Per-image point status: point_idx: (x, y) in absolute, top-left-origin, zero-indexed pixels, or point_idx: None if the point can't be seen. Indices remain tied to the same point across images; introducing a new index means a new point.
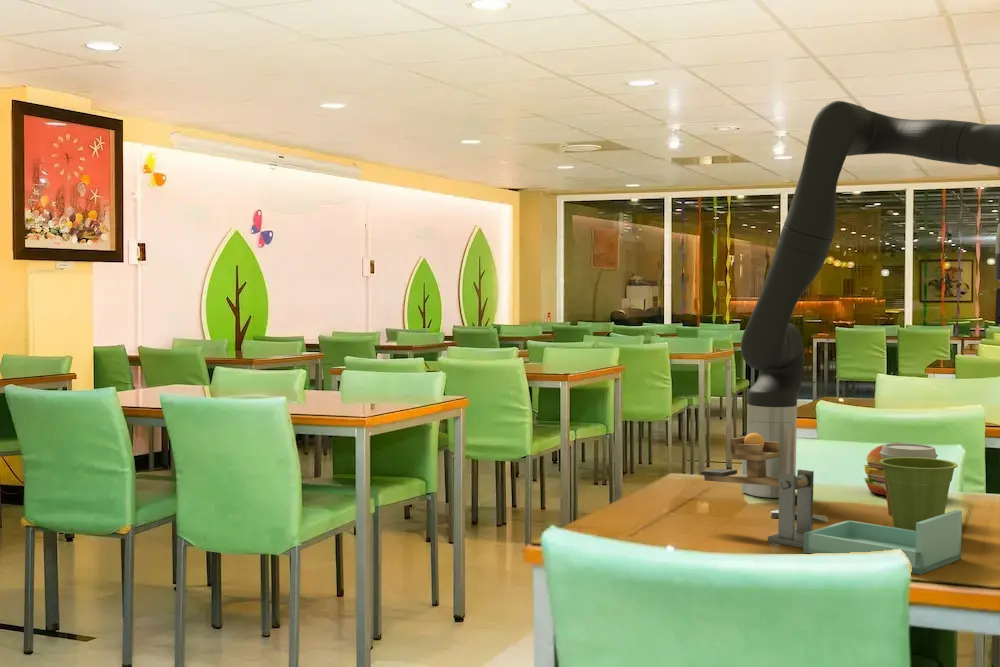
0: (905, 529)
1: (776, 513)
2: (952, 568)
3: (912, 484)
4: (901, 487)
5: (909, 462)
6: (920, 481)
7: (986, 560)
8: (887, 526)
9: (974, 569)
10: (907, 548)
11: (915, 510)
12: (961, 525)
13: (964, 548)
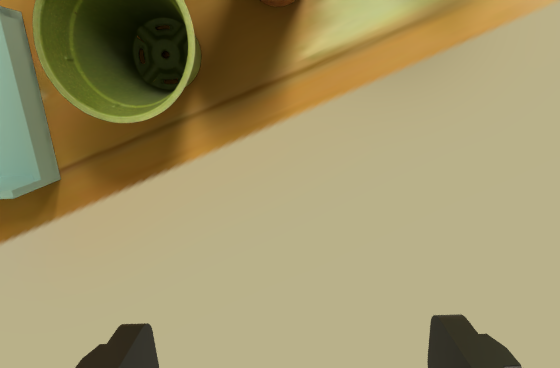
0: (20, 108)
1: None
2: None
3: (77, 64)
4: (78, 41)
5: None
6: (78, 78)
7: (81, 202)
8: (14, 78)
9: (27, 212)
10: (16, 122)
11: (113, 68)
12: (30, 191)
13: (118, 156)
